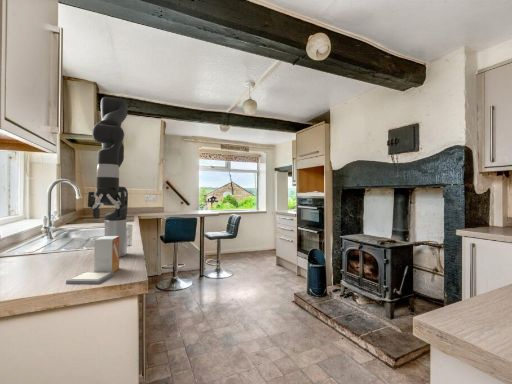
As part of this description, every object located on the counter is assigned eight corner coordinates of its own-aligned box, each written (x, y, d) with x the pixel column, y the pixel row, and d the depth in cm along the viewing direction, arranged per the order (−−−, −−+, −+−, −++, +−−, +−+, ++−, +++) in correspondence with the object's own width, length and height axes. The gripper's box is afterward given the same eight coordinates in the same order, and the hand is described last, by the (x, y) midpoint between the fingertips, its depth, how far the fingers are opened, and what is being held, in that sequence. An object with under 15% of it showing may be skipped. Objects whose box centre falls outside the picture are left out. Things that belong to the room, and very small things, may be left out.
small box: (112, 274, 95) (112, 239, 96) (93, 275, 94) (93, 239, 94) (119, 267, 103) (119, 235, 103) (102, 268, 102) (102, 236, 102)
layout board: (84, 274, 94) (84, 271, 94) (114, 275, 94) (114, 272, 94) (66, 283, 85) (66, 279, 85) (98, 283, 85) (98, 280, 85)
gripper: (131, 177, 103) (130, 218, 102) (96, 177, 103) (95, 217, 103) (120, 175, 95) (120, 219, 95) (83, 175, 96) (82, 219, 95)
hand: (107, 218), depth 99 cm, fingers open, 8 cm apart
